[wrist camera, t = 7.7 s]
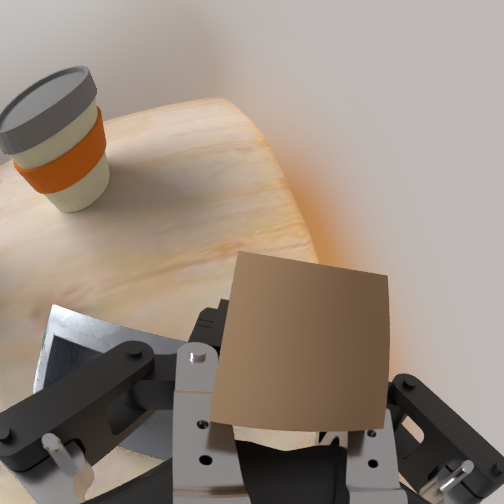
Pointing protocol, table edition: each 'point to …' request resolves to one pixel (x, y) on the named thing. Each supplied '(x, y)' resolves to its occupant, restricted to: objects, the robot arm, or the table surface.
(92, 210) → the table surface
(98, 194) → the reusable coffee cup
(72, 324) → the grey square tube bracket
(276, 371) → the brown square block
